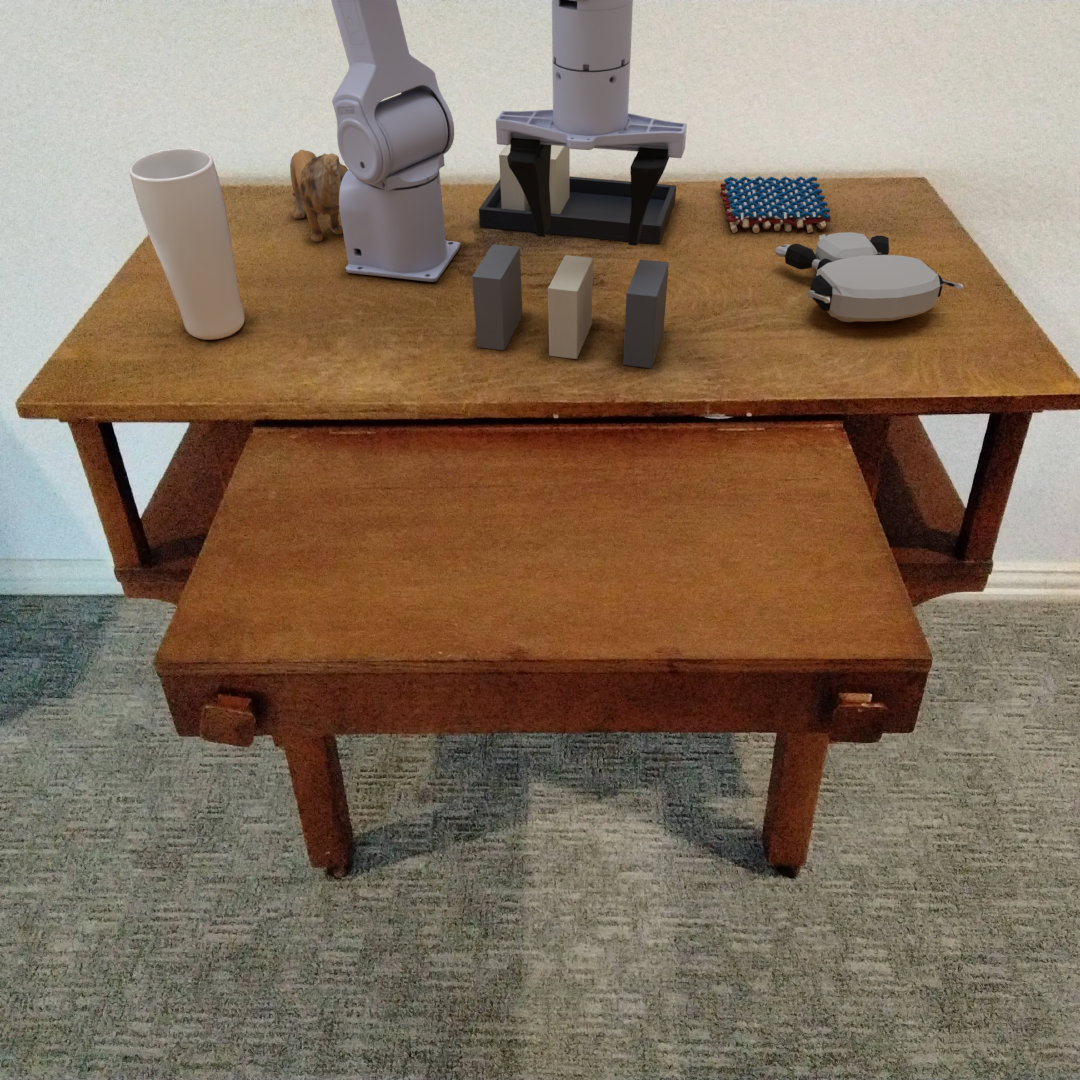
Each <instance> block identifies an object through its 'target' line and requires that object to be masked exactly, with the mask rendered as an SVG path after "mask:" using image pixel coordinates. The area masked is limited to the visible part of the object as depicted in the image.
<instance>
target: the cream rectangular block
mask: <svg viewBox="0 0 1080 1080" xmlns="http://www.w3.org/2000/svg"><path fill="white" fill-rule="evenodd" d="M593 278H594V258H593V257H589V256H578V255H568V254H565V255H564V256H563V258H562V260H561V262H560V264H559V266H558V268H557V270H556V272H555V274H554V275H553V278H552V280H551V282H550V284H549V286H548V287H547V302H548V307H547V309H548V312H547V313H548V355H549V357H557V358H564V359H573V360H578V358H579V356H580V353H581V351H582V349H583V347H584V343H585V341H586V339H587V336H588V335H589V332H590V329H591V327H592V325H593V290H594V289H593V285H594V284H593V283H594V279H593Z"/></svg>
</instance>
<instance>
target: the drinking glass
mask: <svg viewBox="0 0 1080 1080" xmlns="http://www.w3.org/2000/svg"><path fill="white" fill-rule="evenodd" d="M128 174H129V177H130V182H131V185H132V188H133V193H134V196H135V200H136V204H137V206H138V209H139V212H140V215H141V217H142V221H143V223H144V226H145V229H146V231H147V234H148V237H149V239H150V242H151V243H152V247H153V249H154V251H155V254H156V256H157V258H158V261H159V263H160V265H161V268H162V271H163V273H164V275H165V278H166V280H167V283H168V285H169V287H170V290H171V293H172V295H173V298H174V300H175V303H176V306H177V308H178V310H179V311H178V312H179V314H180V316H181V319H182V323H183V327H184V328H185V331H186V332H187V333H188V334H189V335H190V336H191V337H193V338H196V339H199V340H205V341H206V340H208V341H211V340H220V339H224V338H227V337H230V336H232V335H234V334H236V333H237V332H238V331H240V330H241V329H242V328H243V326H244V324H245V320H246V315H245V311H244V308H243V303H242V300H241V299H242V298H241V294H240V287H239V282H238V275H237V268H236V262H235V255H234V250H233V243H232V237H231V230H230V223H229V217H228V212H227V207H226V202H225V197H224V194H223V189H222V186H221V181H220V177H219V174H218V171H217V167H216V164H215V161H214V157H213V156H212V155H211V154H210V153H208V152H206V151H205V150H202V149H198V148H189V147H188V148H187V147H181V148H180V147H179V148H177V147H176V148H168V149H162V150H158V151H153V152H151V153H148V154H145V155H143V156H140V157H138V158H137V159H135V160H134V161H133V162H132V163H131V164H130V165H129V168H128Z"/></svg>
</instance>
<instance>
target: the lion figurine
mask: <svg viewBox="0 0 1080 1080" xmlns="http://www.w3.org/2000/svg"><path fill="white" fill-rule="evenodd" d="M290 159H291V160H290V165H289V170H290V171H289V172H290V173H289V174H290V181H291V185H292V186H291V187H292V190H293V192H292V196H293V197H294V203H295V210H294V213H293V218H294V220H295V219H296V220H300V219H303V218H305V216H306V218H307V220H308V224H309V228H310V231H311V235H310V240H311V241H312V242H313V243H314V242H316V243H318V242H321V241H323V240H324V238H323V231H322V229H321V227H320V223H319V220H318V214H320V215H321V216H326V215H328V216H329V228H330V230H331V231H332V232H333V233H334V234H335V235H342V234H343V228H342V225H340V220H339V216H340V209H339V192H340V185H341V182H342V179H343V177H344V175H345V173H346V172H347V171H348V170H349V169H348V167H347V166H346V165H345V164H342V163H341V161H340V157H339V156H338V155H337V154H335V153H323V154H321V155H318V156H317V155H316V154H315V153H314V152H312V151H309V150H305V149H300V150H298V151H297V152H295V153H294V154H293V155H292V157H291V158H290ZM303 204H304V205H303ZM304 210H305V211H304ZM305 214H306V215H305Z"/></svg>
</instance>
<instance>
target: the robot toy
mask: <svg viewBox="0 0 1080 1080" xmlns="http://www.w3.org/2000/svg"><path fill="white" fill-rule="evenodd" d="M774 253H775V255H776V256H777V257H779V258H784V261H785V262H784V264H786V265H788V266H790V267H793V268H795V269H797V270H806V269H811V268H813V270H814V271H815V272H816V274H815V275H816V276H814V277H812V278H811V282H810V289H809V290H807V298H810V299H812V300H813V301H814V302H815V303H816V304H817V306H819V308H820V309H822V311H825V312H827V314H828V315H829V316H830V317H832V318H835V319H836V320H838V321H840V322H843V323H854V322H892V321H898V320H902V319H907V318H911V317H915V316H918V315H922V314H924V313H926V312H929V310H931V309H933V308H934V307H935V306H936V305H937V302H938V298H939V297H941V295H942V290H943V287H944V285H945V286H949V287H952V288H955V289H957V290H962V289H964V285H963V284H962V283H956V282H953V281H948V280H945V279H944V277H942V276H941V275H940V274H939V273H937V272H936V271H935V270H934V269H932V267H930V266H929V265H928V264H926V263H925V262H923V261H922V260H921V259H920V258H916V257H911V256H906V255H898V254H890V238H889V237H887V236H885V235H872V236H870V238H868V237H866V235H865V234H864V233H860V232H854V231H853V232H852V231H849V232H846V231H845V232H841V231H840V232H837V233H836V232H835V233H829V234H828V235H826V233H823V234H821V235H819V236H818V241H817V242H816V247H815V251H814V250H813V249H812V248H810V247H808V246H805V245H803V244H801V243H797V242H796V243H792V244H787V243H786V244H782V245H779V246H776V248H775V250H774Z"/></svg>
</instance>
